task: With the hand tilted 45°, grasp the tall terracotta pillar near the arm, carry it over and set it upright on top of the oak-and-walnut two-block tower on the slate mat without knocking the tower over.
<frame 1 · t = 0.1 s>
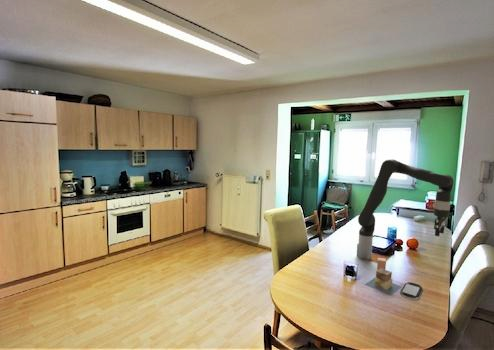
hand: (439, 234, 165), 29 cm above the table, tool pointing down, fingers open, 8 cm apart
gaming console: (411, 293, 154), on the table
tower top: (383, 278, 159), point 5 cm above the table, touching tower base
slate mat: (382, 286, 160), on the table
terracotta pillar: (380, 274, 175), on the table
tower base: (383, 285, 159), point 1 cm above the table, touching slate mat, tower top
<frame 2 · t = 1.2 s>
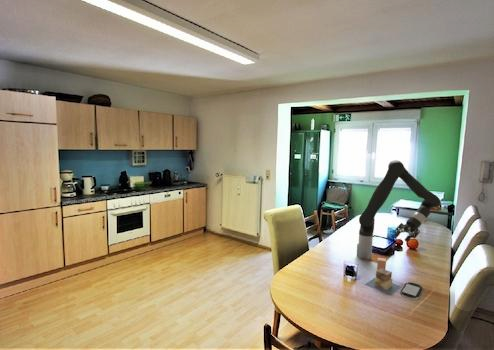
hand: (400, 238, 177), 22 cm above the table, tool tilted 45°, fingers open, 8 cm apart
nothing on the table moved.
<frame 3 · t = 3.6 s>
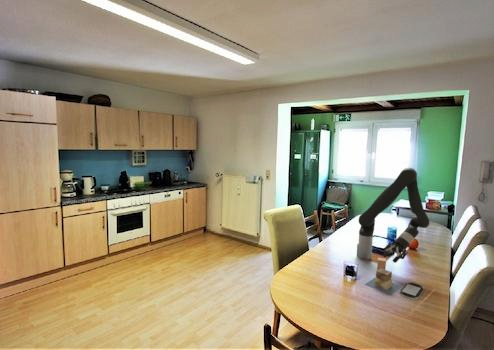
hand: (388, 259, 175), 10 cm above the table, tool tilted 45°, fingers open, 8 cm apart
nothing on the table moved.
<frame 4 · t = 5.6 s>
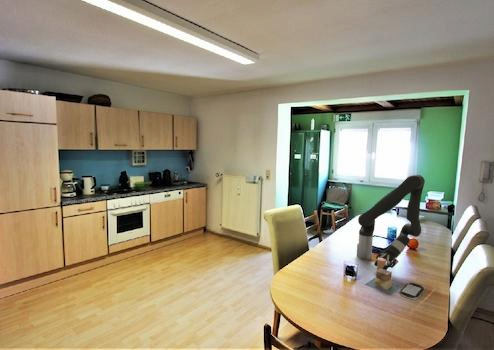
hand: (379, 268, 174), 4 cm above the table, tool tilted 45°, fingers closed on terracotta pillar, 6 cm apart
terracotta pillar: (380, 274, 175), on the table, touching gripper
everything else where it was.
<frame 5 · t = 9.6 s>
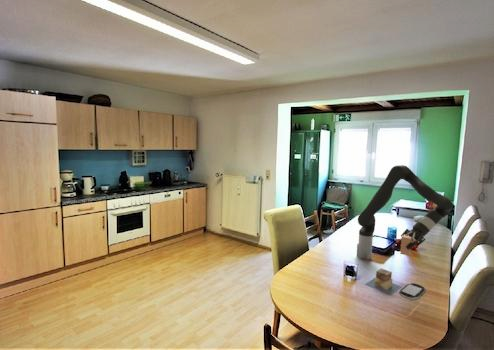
hand: (403, 246, 158), 24 cm above the table, tool tilted 45°, fingers closed on terracotta pillar, 6 cm apart
terracotta pillar: (405, 253, 158), point 20 cm above the table, touching gripper
everything else where it was.
when the fingers open (15 cm above the table, at t = 13.5 s): terracotta pillar drops 1 cm, resting on tower top.
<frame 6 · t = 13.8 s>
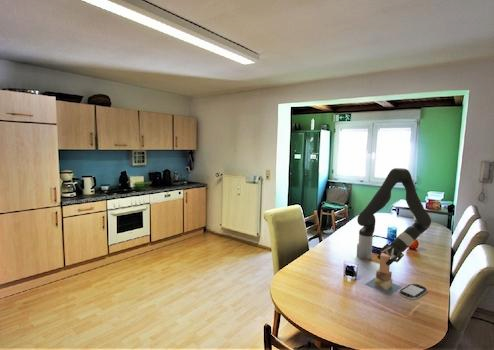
hand: (382, 261, 158), 15 cm above the table, tool tilted 45°, fingers open, 8 cm apart
tower top: (383, 278, 159), point 5 cm above the table, touching terracotta pillar, tower base
terracotta pillar: (384, 271, 159), point 9 cm above the table, touching tower top
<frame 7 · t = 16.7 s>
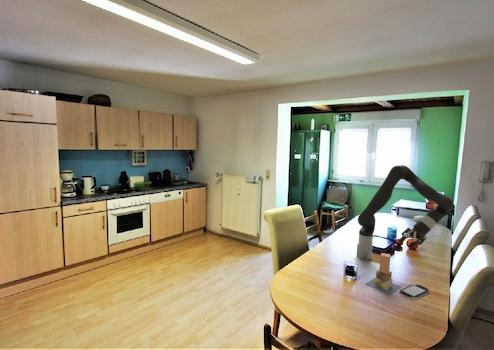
hand: (404, 244, 158), 25 cm above the table, tool tilted 45°, fingers open, 8 cm apart
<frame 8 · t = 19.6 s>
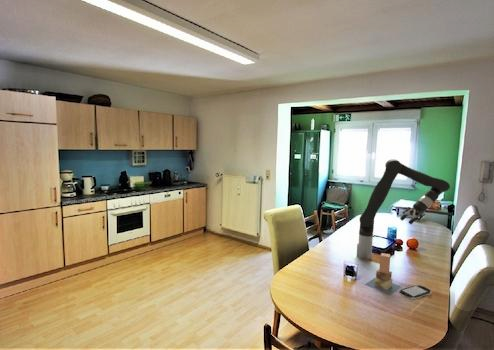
hand: (405, 221, 180), 33 cm above the table, tool tilted 45°, fingers open, 8 cm apart
at the end: terracotta pillar 0.1 cm off-centre on the tower top, point 4.0 cm above the tower top's base; terracotta pillar tilted 0°; tower top 0.0 cm from the target spot, point 5.3 cm above the table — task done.
